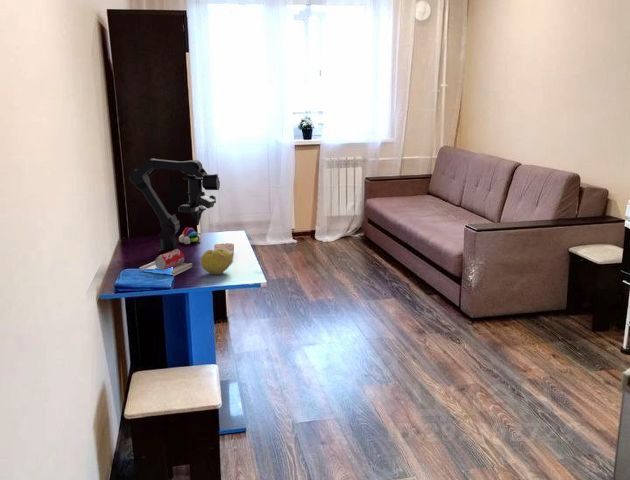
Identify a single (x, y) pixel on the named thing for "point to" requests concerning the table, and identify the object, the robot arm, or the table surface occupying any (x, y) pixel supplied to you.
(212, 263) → the fruit
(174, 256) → the beverage can
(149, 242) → the table surface
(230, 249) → the brick
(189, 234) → the multicoloured layered toy figurine
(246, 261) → the table surface
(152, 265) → the tray
